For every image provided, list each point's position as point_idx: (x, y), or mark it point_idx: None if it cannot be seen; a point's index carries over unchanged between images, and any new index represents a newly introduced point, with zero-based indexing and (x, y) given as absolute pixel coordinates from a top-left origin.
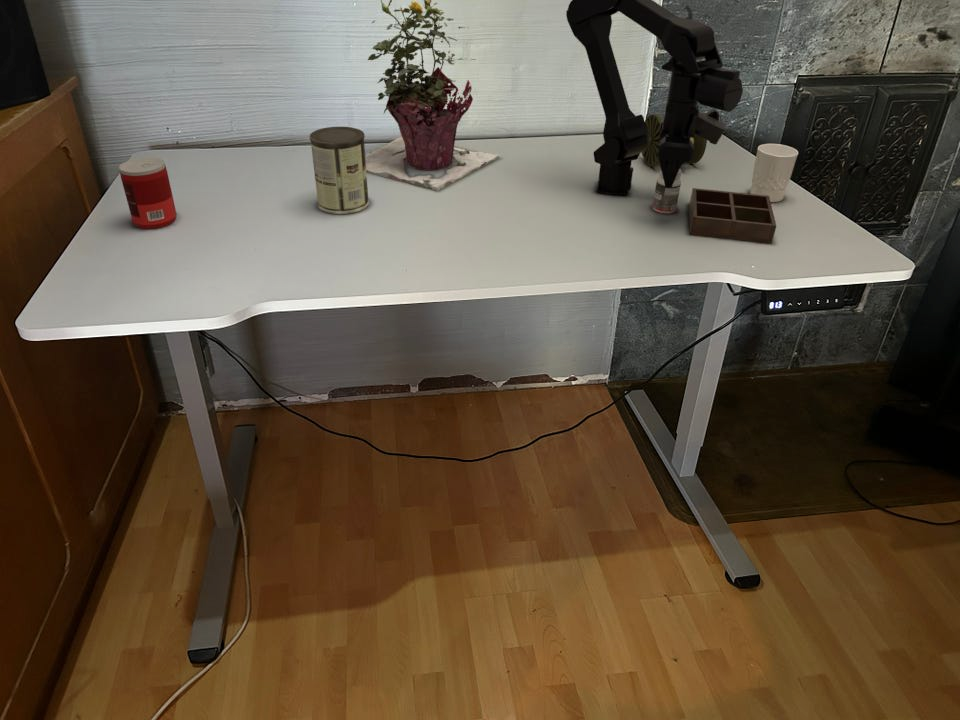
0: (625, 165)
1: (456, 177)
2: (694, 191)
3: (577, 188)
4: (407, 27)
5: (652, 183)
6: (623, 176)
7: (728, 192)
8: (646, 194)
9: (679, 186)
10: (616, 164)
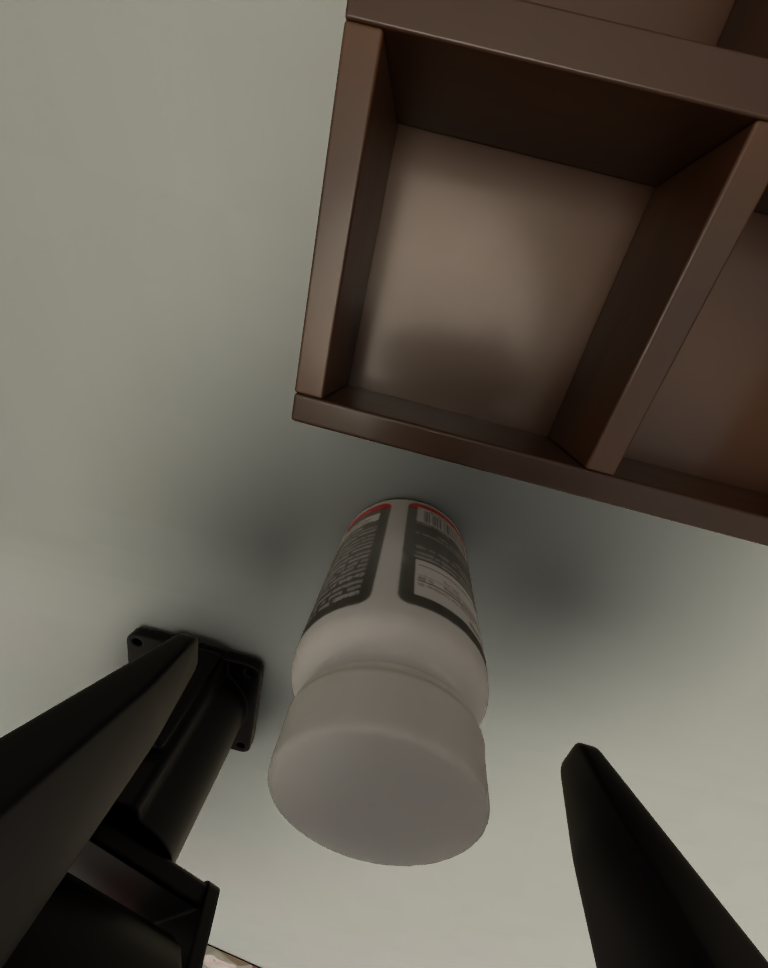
0: (148, 823)
1: (223, 962)
2: (366, 426)
3: (218, 775)
4: None
5: (71, 518)
6: (192, 751)
7: (375, 31)
8: (221, 578)
9: (454, 616)
10: (180, 884)
